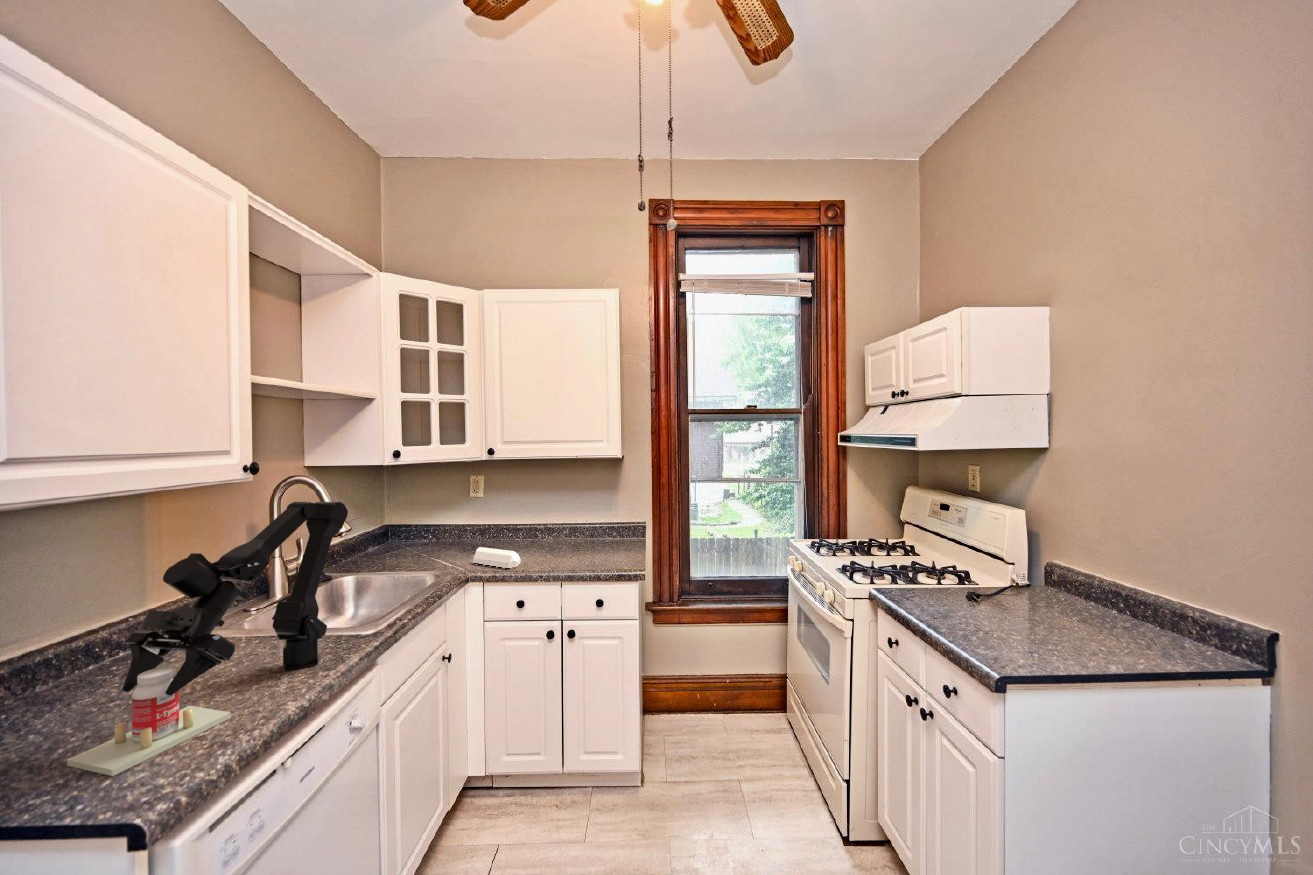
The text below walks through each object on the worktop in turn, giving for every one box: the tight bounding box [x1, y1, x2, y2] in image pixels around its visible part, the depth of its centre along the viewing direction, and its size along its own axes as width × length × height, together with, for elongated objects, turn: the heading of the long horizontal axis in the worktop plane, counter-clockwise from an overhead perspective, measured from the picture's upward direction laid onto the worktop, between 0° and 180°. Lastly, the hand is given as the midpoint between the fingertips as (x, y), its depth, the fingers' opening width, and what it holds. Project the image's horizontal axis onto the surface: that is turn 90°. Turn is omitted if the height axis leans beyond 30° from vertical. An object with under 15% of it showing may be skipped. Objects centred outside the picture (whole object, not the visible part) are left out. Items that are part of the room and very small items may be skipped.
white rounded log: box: [472, 546, 522, 569], centre depth 220 cm, size 7×7×24 cm
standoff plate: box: [66, 705, 232, 777], centre depth 94 cm, size 18×11×4 cm, turn 164°
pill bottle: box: [131, 666, 180, 742], centre depth 94 cm, size 6×6×11 cm
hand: (146, 692), depth 93 cm, fingers open, 9 cm apart
